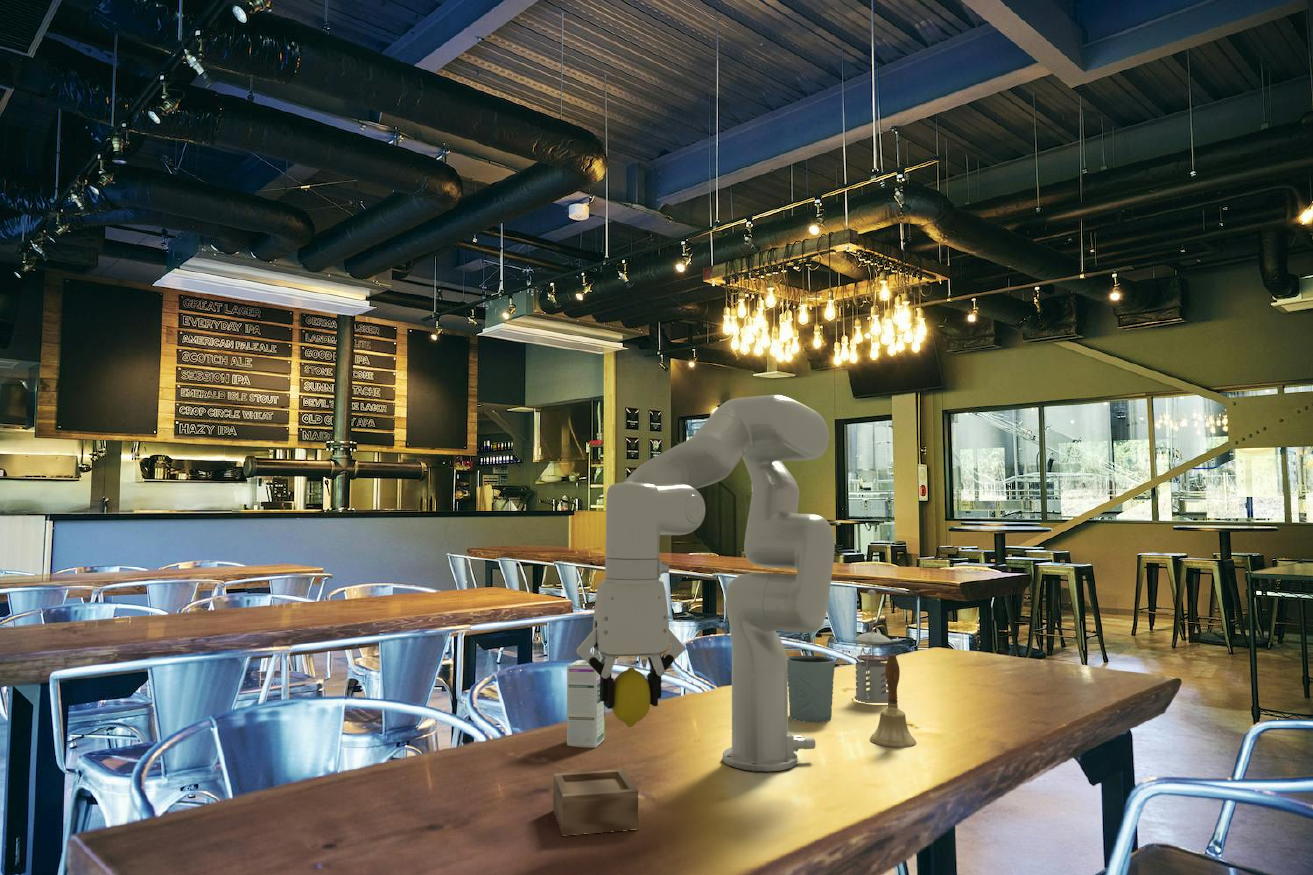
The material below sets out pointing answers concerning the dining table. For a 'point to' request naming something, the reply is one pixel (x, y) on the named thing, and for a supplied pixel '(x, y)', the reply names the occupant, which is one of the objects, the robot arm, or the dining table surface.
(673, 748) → the dining table surface
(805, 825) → the dining table surface
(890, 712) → the hand bell
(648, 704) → the lemon
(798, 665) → the grey teal cup
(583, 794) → the brown wooden tray
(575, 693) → the syrup box
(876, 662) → the french press
